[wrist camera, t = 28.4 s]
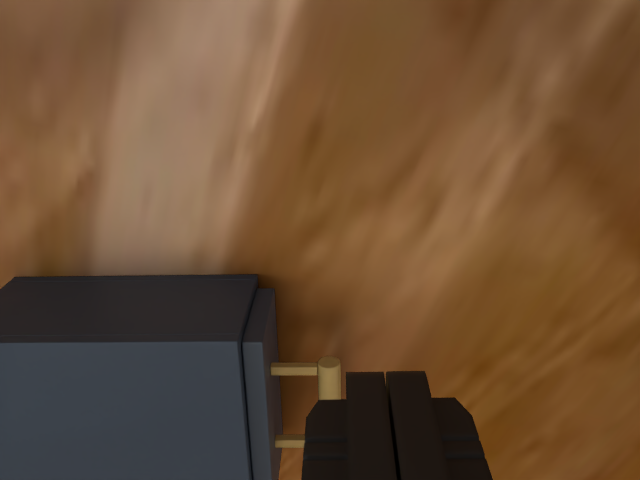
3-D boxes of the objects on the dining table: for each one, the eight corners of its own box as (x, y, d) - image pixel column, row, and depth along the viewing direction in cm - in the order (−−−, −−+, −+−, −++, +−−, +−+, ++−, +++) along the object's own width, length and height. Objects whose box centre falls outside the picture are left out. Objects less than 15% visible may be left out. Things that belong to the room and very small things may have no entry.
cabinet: (257, 274, 40) (237, 341, 32) (268, 437, 45) (254, 531, 37) (14, 276, 41) (-65, 343, 33) (52, 438, 46) (-9, 530, 38)
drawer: (339, 287, 39) (340, 341, 33) (341, 439, 44) (342, 512, 37) (43, 290, 40) (-12, 344, 34) (75, 439, 44) (32, 511, 38)
